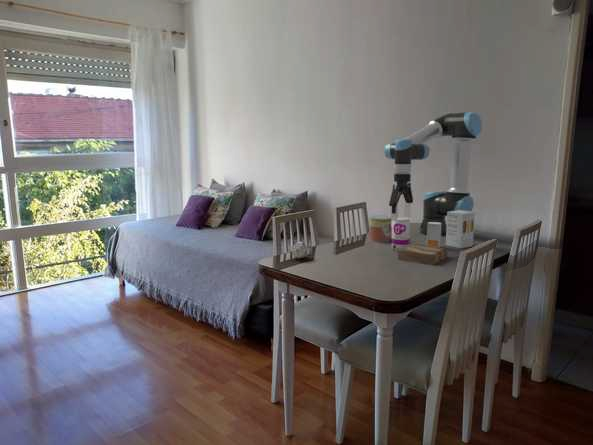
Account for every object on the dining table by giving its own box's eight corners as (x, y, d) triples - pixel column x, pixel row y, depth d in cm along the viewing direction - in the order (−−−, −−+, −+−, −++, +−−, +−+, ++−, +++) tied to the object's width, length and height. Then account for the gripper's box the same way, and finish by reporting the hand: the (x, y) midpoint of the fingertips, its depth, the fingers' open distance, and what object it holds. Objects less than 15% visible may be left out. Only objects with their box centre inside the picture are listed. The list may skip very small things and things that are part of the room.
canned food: (381, 243, 229) (381, 219, 227) (364, 239, 238) (364, 217, 236) (395, 239, 236) (396, 217, 234) (378, 236, 245) (379, 214, 243)
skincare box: (426, 247, 219) (427, 223, 217) (428, 245, 222) (428, 221, 220) (439, 248, 216) (440, 224, 214) (440, 246, 220) (441, 222, 217)
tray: (413, 251, 211) (413, 243, 210) (447, 256, 201) (447, 248, 200) (397, 259, 199) (398, 250, 198) (433, 264, 189) (433, 255, 188)
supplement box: (460, 248, 215) (462, 213, 212) (445, 245, 223) (446, 211, 220) (473, 246, 220) (475, 211, 217) (457, 242, 228) (459, 209, 225)
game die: (299, 265, 205) (302, 245, 210) (311, 262, 199) (314, 241, 203) (284, 258, 200) (287, 238, 205) (296, 255, 194) (300, 234, 198)
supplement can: (406, 252, 211) (407, 220, 208) (389, 250, 215) (389, 219, 212) (411, 248, 217) (412, 217, 215) (395, 246, 222) (395, 216, 219)
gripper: (406, 171, 221) (405, 214, 225) (382, 174, 202) (381, 221, 206) (421, 172, 217) (419, 215, 220) (397, 175, 198) (396, 222, 201)
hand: (400, 218), depth 213 cm, fingers open, 13 cm apart
